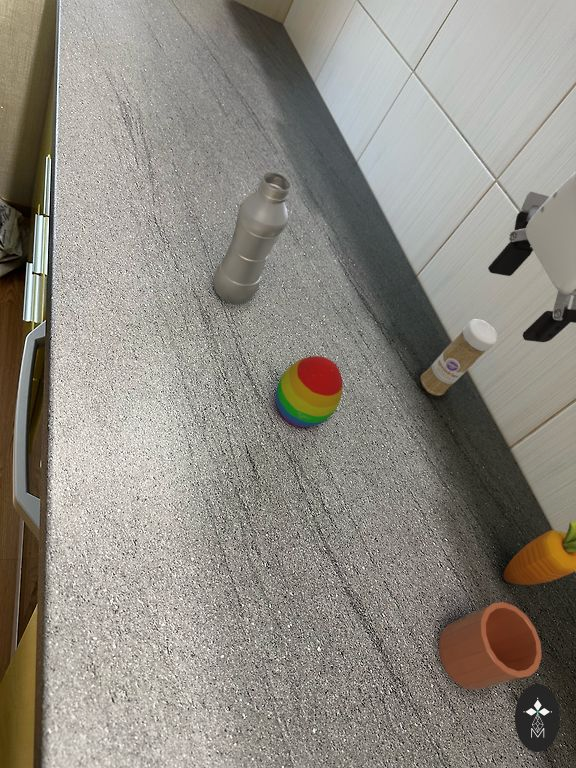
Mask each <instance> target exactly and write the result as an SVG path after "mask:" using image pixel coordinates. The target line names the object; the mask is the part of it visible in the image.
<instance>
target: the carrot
mask: <svg viewBox="0 0 576 768" xmlns="http://www.w3.org/2000/svg"><path fill="white" fill-rule="evenodd" d="M575 572H576V520H575V521H574V520H572V521H569V524H568V529H567V531H566V532H563V531H559V530H554V529H551V530H548V531H546V532H545V533H543V534H541V535H539V536H538V537H536V538H535V539H533V540H531V541H530V542H528V543H527V544H526V545H525V546H523V547H522V548H521V549H520V550H519V551H518V552H517V553H516V554H515V555H514V556H513V557H512V559H511V560H510V561H509V562H508V564H507V566H506V567H505V569H504V572H503V574H502V576H503V580H504V581H505V582H507V583H510V584H515V585H521V586H522V585H523V586H524V585H525V586H531V585H540V584H544V583H549V582H552V581H554V580H557V579H561V578H563V577H565V576H568V575H571V574H573V573H575Z"/></svg>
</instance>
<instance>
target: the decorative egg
mask: <svg viewBox="0 0 576 768" xmlns="http://www.w3.org/2000/svg"><path fill="white" fill-rule="evenodd" d="M343 386H344V385H343V377H342V374H341V371H340V369H339V367H338V365H336V363H335V362H333V361H332V360H331V359H329V358H328V357H326V356H319V355H313V356H312V355H311V356H307V357H304V358H302V359H299V360H297V361H295V362H294V363H293V364H291V365H290V366H289V367H288V368H287V369H285V371H284V372H283V374H282V375H281V377H280V379H279V381H278V383H277V386H276V390H275V403H276V407H277V409H278V411H279V413H280V415H281V416H282V417H283V419H284V420H286V421H287V422H288V423H290V424H292V425H293V426H296V427H301V428H311V427H315V426H318V425H321V424H322V423H324V422H325V421H327V420H328V419H330V417H332V416H333V414H334V413H335V412H336V410H337V408H338V406H339V405H340V402H341V400H342V395H343V391H344V390H343V388H344V387H343Z"/></svg>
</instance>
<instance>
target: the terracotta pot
mask: <svg viewBox="0 0 576 768" xmlns="http://www.w3.org/2000/svg"><path fill="white" fill-rule="evenodd" d="M438 652H439V658H440V660H441V664H442V666H443V668H444V670H445V672H446V673H447V674H448V676H449V677H450V679H452V680H453V681H454V682H455V683H456V684H457V685H458V686H460V687H462V688H464V689H466V690H470V691H479V690H483V689H488V688H492V687H495V686H500V685H503V684H506V683H510V682H513V681H517V680H518V681H519V680H520V679H525V678H529V677H531V676H532V675H533V674H534V673H536V671H537V670H538V669H539V668H540V664H541V660H542V656H543V655H542V643H541V640H540V637H539V635H538V631H537V629H536V627H535V626H534V624H533V623H532V622H531V620H530V618H529V617H528V616H527V614H525V613H524V612H523V611H522V610H520V609H519V608H518V607H517V606H515V605H513V604H510V603H507V602H505V601H502V602H501V601H500V602H493V603H491V604H489V605H486V606H484V607H481V608H480V609H479V608H478V609H477V610H474V611H473V612H470V613H468V614H466V615H464V616H461V617H459V618H458V619H455V620H454V621H451V622H450V623H448V624H447V625H446V626H445V627H443V629H442V631H441V633H440V636H439V641H438Z"/></svg>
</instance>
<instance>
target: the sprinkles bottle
mask: <svg viewBox="0 0 576 768" xmlns="http://www.w3.org/2000/svg"><path fill="white" fill-rule="evenodd" d="M497 342H498V333H497V331H496V330H495V328H494V327H493V326H492V325H491V324H490V323H488V322H487V321H485V320H483V319H481V318H473V319H471V320H470V321H469V322H467V324H466V325H465V326H464V327H463V329H462V331H461V333H459V335H458V336H457V337H456V338H455V339H454V340H453V341H451V342H450V344H449V345H448V346H447V347H445V349H444V350H443V351H442V353H440V354H439V356H438V357H437V358H436V359H435V360H434V361H433V363H432V364H431V365H430V366H429V367H428V368H427V370H425V371H424V372H423V373H422V374H421V375H420V384H421V386H422V387H423V389H424V390H425V391H426V392H427V393H428V394H430V395H433V396H436V397H440V396H442V395H443V396H444V395H445V393H446V392H447V390H449V388H450V387H452V386H453V385H454V383H456V382H457V381H458V380H459V379H460V378H461V377H462V376H463V375H464V374H465V373H466V372H467V371H468V370H469V369H471V367H472V366H473V365H474V364H475V363H476V361H478V360H479V359H480V357H481V356H482V355H484V354H485V352H487V351H489V350H491V348H493V346H494V345H496V343H497Z"/></svg>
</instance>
